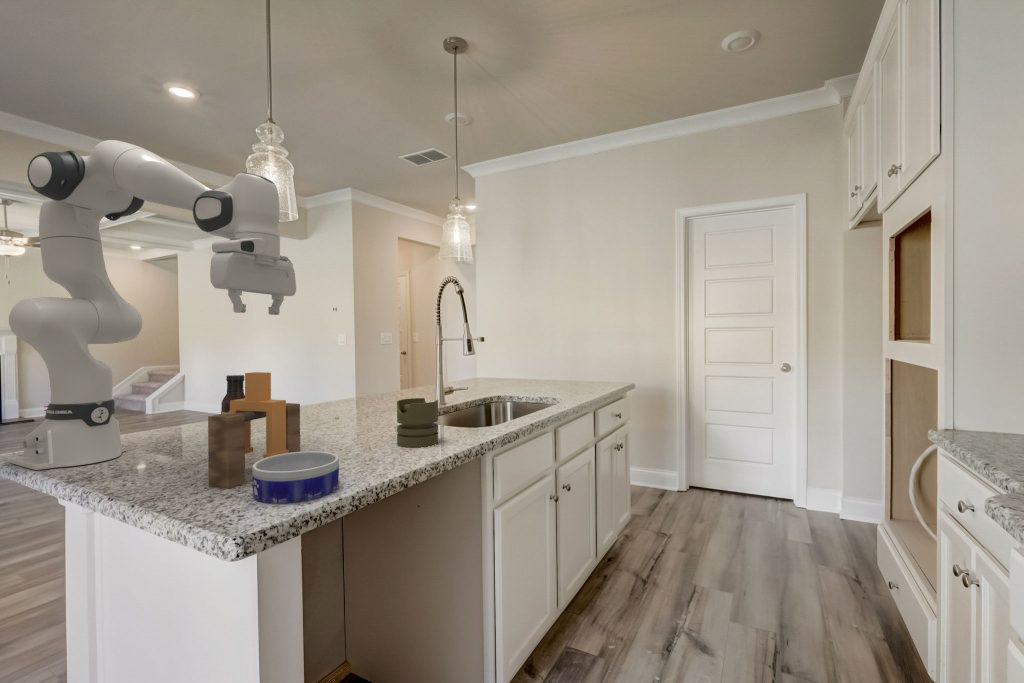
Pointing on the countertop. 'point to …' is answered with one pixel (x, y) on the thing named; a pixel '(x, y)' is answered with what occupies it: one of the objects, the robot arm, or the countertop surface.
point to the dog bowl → (295, 477)
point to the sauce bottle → (232, 391)
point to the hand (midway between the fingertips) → (257, 313)
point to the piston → (417, 423)
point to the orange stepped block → (261, 401)
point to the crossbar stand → (240, 444)
